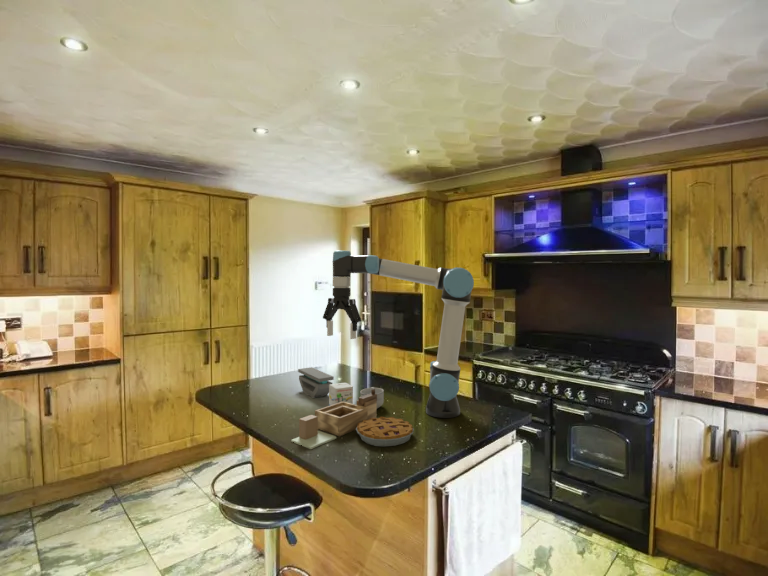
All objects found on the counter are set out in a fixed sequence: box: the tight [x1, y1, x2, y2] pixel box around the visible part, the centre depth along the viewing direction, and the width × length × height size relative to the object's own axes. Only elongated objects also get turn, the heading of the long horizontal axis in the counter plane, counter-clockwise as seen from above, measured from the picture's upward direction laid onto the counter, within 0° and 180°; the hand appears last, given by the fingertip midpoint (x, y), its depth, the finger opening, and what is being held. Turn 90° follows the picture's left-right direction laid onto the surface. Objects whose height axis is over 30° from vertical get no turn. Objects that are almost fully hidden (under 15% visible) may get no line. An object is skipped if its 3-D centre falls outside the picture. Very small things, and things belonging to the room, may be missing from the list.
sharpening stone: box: [297, 366, 335, 399], centre depth 217 cm, size 25×8×11 cm, turn 35°
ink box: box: [328, 382, 354, 406], centre depth 190 cm, size 8×8×12 cm
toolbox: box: [314, 399, 378, 437], centre depth 173 cm, size 14×23×9 cm, turn 142°
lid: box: [290, 414, 337, 450], centre depth 156 cm, size 11×13×8 cm
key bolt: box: [358, 389, 377, 406], centre depth 178 cm, size 2×9×5 cm, turn 142°
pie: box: [355, 416, 415, 447], centre depth 160 cm, size 22×22×5 cm
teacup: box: [359, 386, 385, 409], centre depth 197 cm, size 14×11×8 cm
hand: (341, 337), depth 179 cm, fingers open, 13 cm apart
